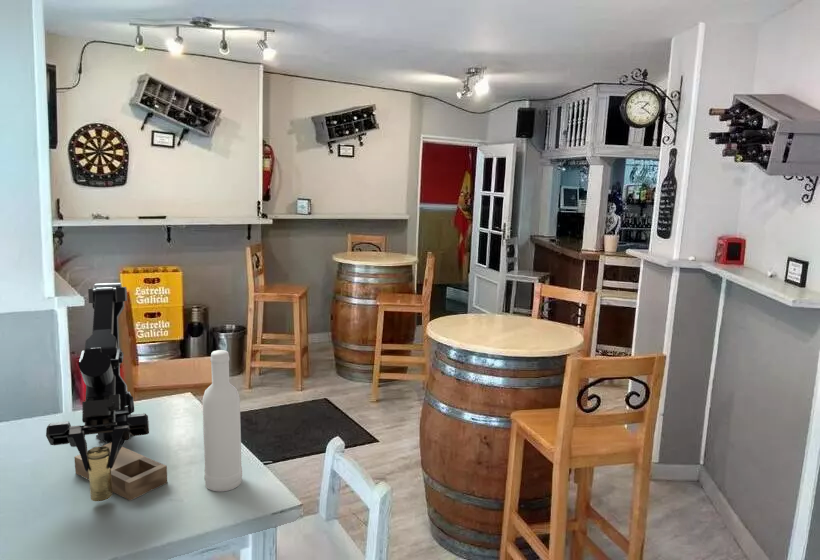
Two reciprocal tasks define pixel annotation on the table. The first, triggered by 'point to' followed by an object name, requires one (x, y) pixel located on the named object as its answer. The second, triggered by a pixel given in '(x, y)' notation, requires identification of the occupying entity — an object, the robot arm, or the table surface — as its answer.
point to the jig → (131, 473)
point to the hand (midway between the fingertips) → (98, 469)
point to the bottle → (221, 428)
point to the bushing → (99, 473)
